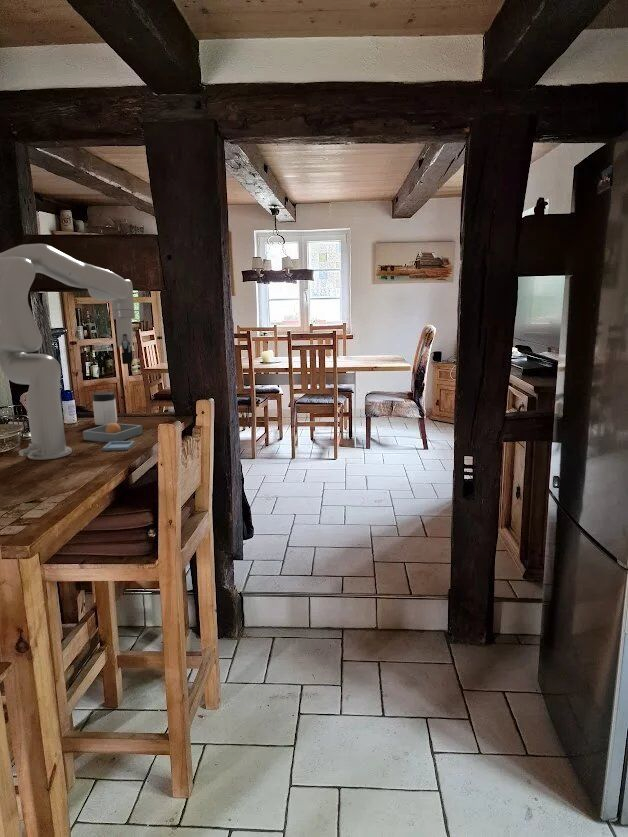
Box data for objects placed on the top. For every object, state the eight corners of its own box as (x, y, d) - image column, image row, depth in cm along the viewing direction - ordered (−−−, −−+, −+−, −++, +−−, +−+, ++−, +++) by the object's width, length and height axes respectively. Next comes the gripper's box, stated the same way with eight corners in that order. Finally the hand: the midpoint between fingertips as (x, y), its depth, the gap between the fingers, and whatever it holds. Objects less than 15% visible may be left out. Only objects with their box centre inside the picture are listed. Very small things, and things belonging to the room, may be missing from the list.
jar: (99, 426, 213) (96, 395, 210) (90, 423, 219) (87, 393, 216) (121, 422, 219) (119, 392, 216) (112, 419, 225) (110, 390, 222)
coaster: (127, 450, 179) (127, 447, 179) (102, 450, 179) (102, 447, 178) (134, 443, 187) (134, 440, 187) (110, 444, 186) (110, 441, 186)
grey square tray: (115, 443, 188) (114, 434, 188) (83, 439, 193) (82, 431, 193) (142, 433, 201) (142, 425, 200) (112, 430, 206) (111, 422, 205)
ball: (114, 438, 194) (113, 424, 193) (103, 437, 196) (101, 423, 195) (124, 435, 198) (123, 421, 197) (113, 434, 200) (111, 420, 199)
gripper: (114, 314, 207) (118, 360, 211) (111, 315, 191) (115, 365, 194) (135, 313, 209) (139, 359, 213) (133, 315, 193) (138, 364, 196)
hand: (127, 362), depth 203 cm, fingers open, 9 cm apart
